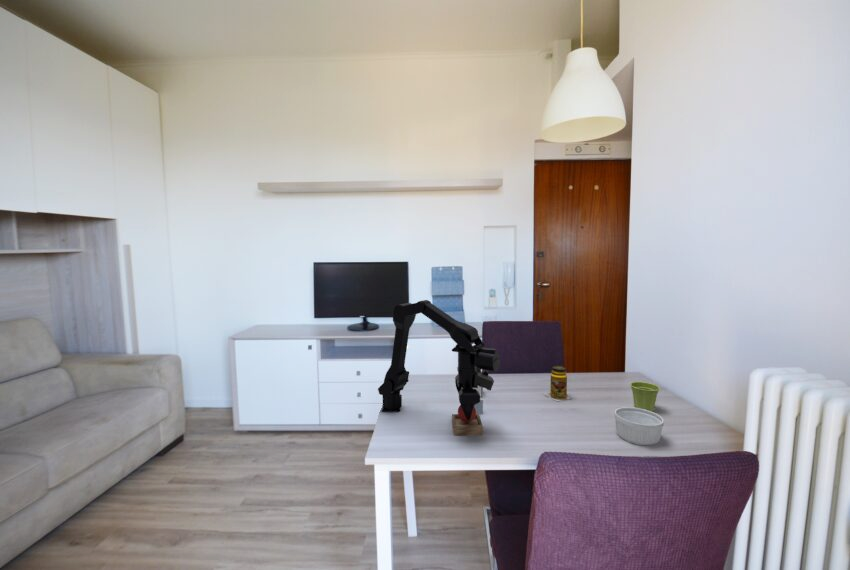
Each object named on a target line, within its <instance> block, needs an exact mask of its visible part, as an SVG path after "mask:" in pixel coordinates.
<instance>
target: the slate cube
mask: <svg viewBox="0 0 850 570" xmlns="http://www.w3.org/2000/svg"><path fill="white" fill-rule="evenodd" d="M474 407H475V409H476V414H479V415H480V414H483V413H484V400H483V398H482V397H481V398H480V402H479V403H478V404H475V405H474Z"/></svg>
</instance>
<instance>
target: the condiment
mask: <svg viewBox="0 0 850 570" xmlns="http://www.w3.org/2000/svg"><path fill="white" fill-rule="evenodd" d="M567 390H568V375H567V368H566V367H565V366H560V365H554V366H552V367H551V373H550V391H549V392H547V393H543V395H544V396H546V397H548V398H550V399H552V400H554V401H557V402H561V401H567V400H570V399H572V397H570V396H568V395H567V393H568V392H567Z"/></svg>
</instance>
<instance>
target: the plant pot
mask: <svg viewBox="0 0 850 570" xmlns="http://www.w3.org/2000/svg"><path fill="white" fill-rule="evenodd" d="M629 386H630V388H631V390H632V391H631V392H632V400H633V407H634V408H640V409H645V410H648V411H651V412H654V411H655V405H656V401H657V397H658V394H659V391H660V390H661V387H660V386H658V385H656V384H653V383H649V382H645V381H632V382H630V383H629Z"/></svg>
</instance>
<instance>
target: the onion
mask: <svg viewBox="0 0 850 570" xmlns="http://www.w3.org/2000/svg"><path fill="white" fill-rule="evenodd" d="M457 414H458V416H459V418H460V419H461V420H462V421H463V422H465V423H469V422H470V421H472V420H473V419H474V418H475V416H476V409H475V407H473V411H472V414H471V418H470V420H467V419H466V417H465V414H464V412H463V409H462V407H461V404H459V407H458V408H457Z"/></svg>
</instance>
